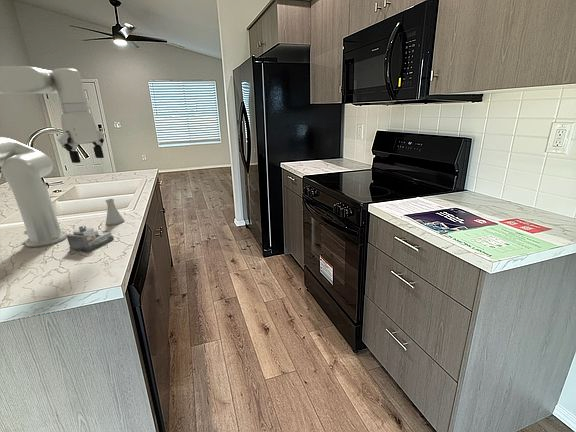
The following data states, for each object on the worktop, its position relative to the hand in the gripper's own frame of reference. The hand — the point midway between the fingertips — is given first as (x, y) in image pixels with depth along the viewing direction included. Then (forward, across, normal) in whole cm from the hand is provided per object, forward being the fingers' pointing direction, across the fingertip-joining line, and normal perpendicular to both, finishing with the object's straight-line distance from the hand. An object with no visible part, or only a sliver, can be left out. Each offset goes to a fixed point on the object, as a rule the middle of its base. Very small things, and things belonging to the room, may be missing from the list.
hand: (88, 160), depth 110 cm
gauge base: (+28, +10, +3) cm, 30 cm away
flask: (+29, -11, -7) cm, 31 cm away
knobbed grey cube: (+27, +11, +4) cm, 30 cm away
